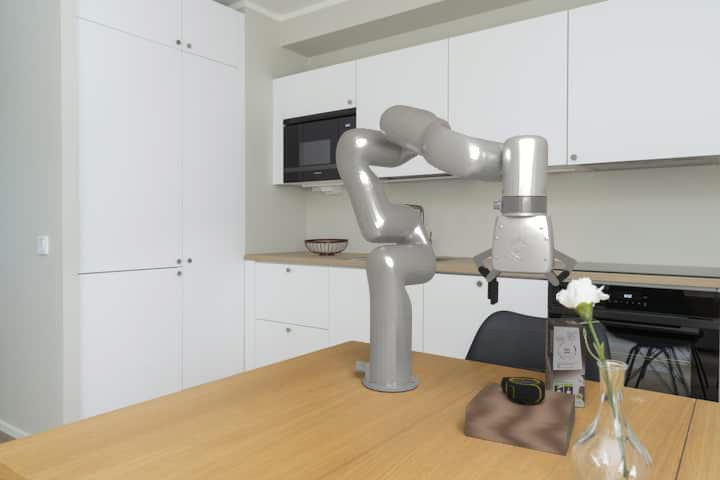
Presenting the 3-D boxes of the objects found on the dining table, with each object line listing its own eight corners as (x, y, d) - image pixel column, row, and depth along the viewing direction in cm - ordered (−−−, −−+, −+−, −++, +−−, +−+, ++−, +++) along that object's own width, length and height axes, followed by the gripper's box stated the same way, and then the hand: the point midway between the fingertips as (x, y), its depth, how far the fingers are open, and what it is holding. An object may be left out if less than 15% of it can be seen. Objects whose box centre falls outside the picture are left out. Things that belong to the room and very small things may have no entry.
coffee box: (585, 408, 100) (587, 327, 99) (551, 405, 101) (552, 325, 101) (575, 393, 109) (577, 319, 108) (544, 391, 110) (545, 317, 110)
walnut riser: (465, 435, 86) (465, 406, 86) (487, 406, 100) (488, 381, 100) (565, 455, 79) (566, 424, 78) (574, 421, 93) (575, 394, 93)
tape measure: (537, 394, 92) (538, 374, 92) (550, 408, 86) (551, 386, 85) (500, 394, 93) (500, 374, 93) (510, 407, 86) (510, 385, 86)
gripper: (469, 207, 88) (467, 304, 89) (576, 207, 80) (573, 313, 81) (479, 209, 95) (478, 299, 95) (579, 208, 87) (577, 307, 87)
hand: (522, 305), depth 88 cm, fingers open, 9 cm apart
